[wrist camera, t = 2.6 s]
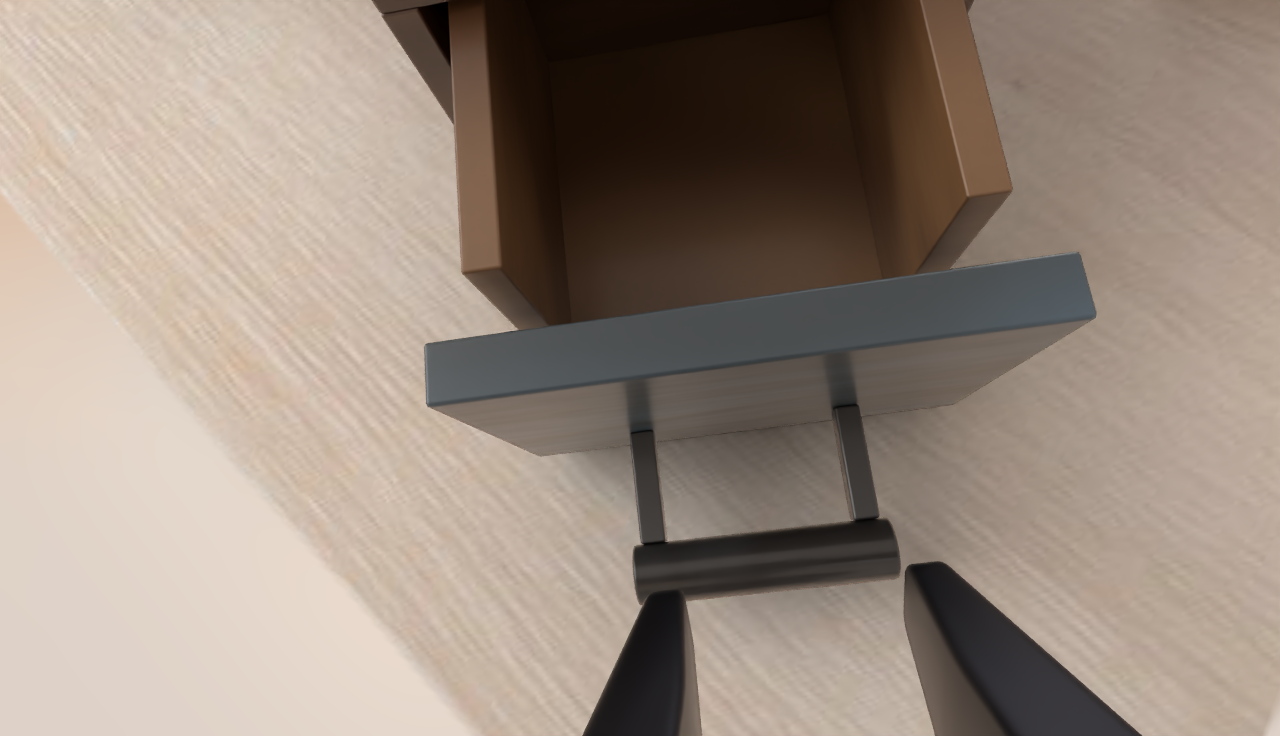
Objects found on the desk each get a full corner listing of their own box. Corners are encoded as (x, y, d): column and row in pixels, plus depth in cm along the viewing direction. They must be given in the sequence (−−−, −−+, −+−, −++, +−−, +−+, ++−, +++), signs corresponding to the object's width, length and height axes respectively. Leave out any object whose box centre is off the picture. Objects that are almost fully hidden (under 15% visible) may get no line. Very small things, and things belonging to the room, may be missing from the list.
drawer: (989, 563, 18) (1173, 580, 11) (548, 609, 19) (433, 653, 12) (868, 9, 22) (939, -263, 15) (509, 72, 23) (404, -152, 16)
